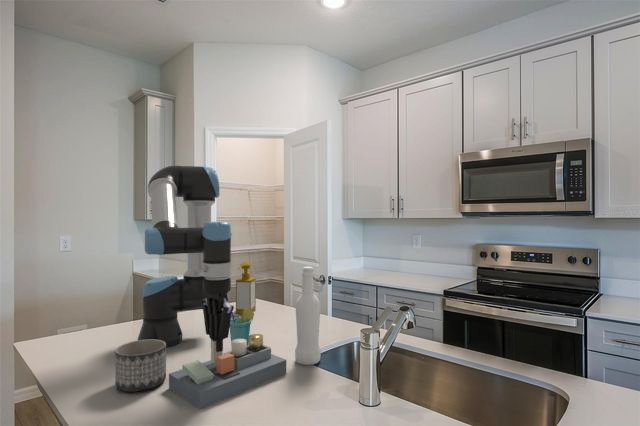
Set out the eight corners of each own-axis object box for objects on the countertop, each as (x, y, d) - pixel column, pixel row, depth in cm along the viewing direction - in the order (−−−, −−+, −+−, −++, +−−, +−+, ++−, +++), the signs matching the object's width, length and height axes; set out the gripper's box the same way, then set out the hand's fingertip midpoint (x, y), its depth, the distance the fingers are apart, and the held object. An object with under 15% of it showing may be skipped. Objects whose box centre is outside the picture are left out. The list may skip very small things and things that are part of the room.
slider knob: (216, 371, 103) (216, 357, 103) (229, 367, 106) (229, 353, 106) (221, 374, 101) (221, 359, 101) (234, 370, 104) (234, 355, 104)
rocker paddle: (182, 369, 102) (182, 364, 102) (197, 364, 105) (198, 359, 105) (197, 384, 97) (198, 379, 96) (212, 378, 100) (213, 373, 100)
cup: (235, 362, 121) (235, 314, 121) (215, 358, 125) (215, 312, 124) (259, 347, 134) (259, 305, 134) (241, 344, 137) (241, 302, 137)
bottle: (301, 368, 117) (301, 269, 117) (291, 358, 124) (291, 266, 124) (325, 363, 121) (325, 267, 121) (313, 354, 128) (313, 264, 128)
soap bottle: (231, 316, 174) (231, 264, 174) (241, 309, 186) (241, 261, 186) (246, 317, 172) (246, 265, 172) (255, 310, 185) (255, 261, 185)
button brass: (245, 347, 115) (245, 336, 115) (257, 344, 118) (257, 333, 118) (254, 351, 112) (254, 339, 112) (265, 347, 115) (265, 336, 115)
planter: (130, 374, 112) (130, 338, 112) (173, 375, 112) (173, 339, 112) (105, 395, 100) (105, 355, 100) (153, 395, 99) (153, 355, 99)
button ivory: (228, 353, 110) (228, 341, 110) (240, 349, 113) (240, 337, 113) (237, 357, 107) (237, 344, 107) (249, 353, 110) (249, 340, 110)
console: (168, 388, 103) (168, 363, 103) (253, 359, 124) (253, 338, 124) (199, 409, 93) (199, 381, 92) (286, 373, 113) (286, 350, 113)
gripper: (192, 276, 108) (192, 359, 109) (218, 282, 99) (218, 373, 100) (215, 273, 114) (215, 352, 114) (242, 278, 105) (242, 364, 105)
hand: (216, 362), depth 107 cm, fingers closed
